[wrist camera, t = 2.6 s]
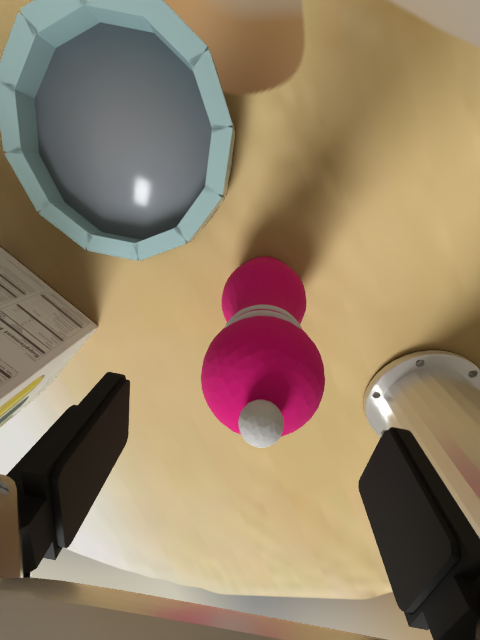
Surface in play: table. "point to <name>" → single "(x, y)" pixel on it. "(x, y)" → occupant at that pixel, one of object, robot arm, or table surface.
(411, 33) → the table surface
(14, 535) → the robot arm
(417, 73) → the table surface
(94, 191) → the round tray
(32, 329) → the supplement box
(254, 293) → the pepper mill
